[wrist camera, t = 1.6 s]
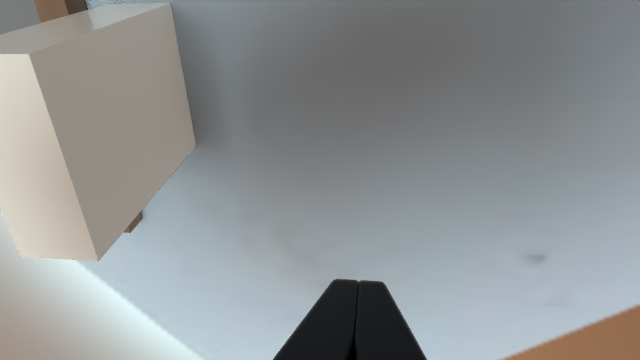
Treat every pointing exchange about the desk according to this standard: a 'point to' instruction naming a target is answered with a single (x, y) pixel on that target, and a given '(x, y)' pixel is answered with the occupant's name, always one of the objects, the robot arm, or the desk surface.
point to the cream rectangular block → (89, 126)
